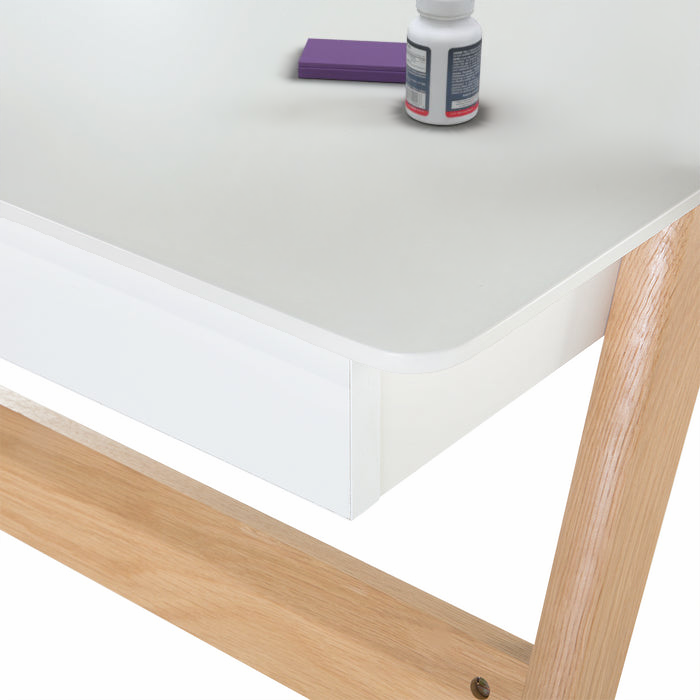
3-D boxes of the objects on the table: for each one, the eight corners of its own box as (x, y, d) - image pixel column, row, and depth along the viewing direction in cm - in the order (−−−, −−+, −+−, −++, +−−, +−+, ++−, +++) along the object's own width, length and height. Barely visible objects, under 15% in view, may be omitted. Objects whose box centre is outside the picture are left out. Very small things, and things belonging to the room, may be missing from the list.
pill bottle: (481, 100, 91) (489, -20, 86) (473, 129, 87) (481, 5, 82) (410, 95, 92) (414, -24, 87) (399, 123, 87) (402, 0, 82)
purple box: (458, 56, 98) (459, 42, 97) (454, 85, 93) (455, 70, 93) (309, 49, 99) (309, 35, 99) (298, 77, 94) (297, 62, 94)
